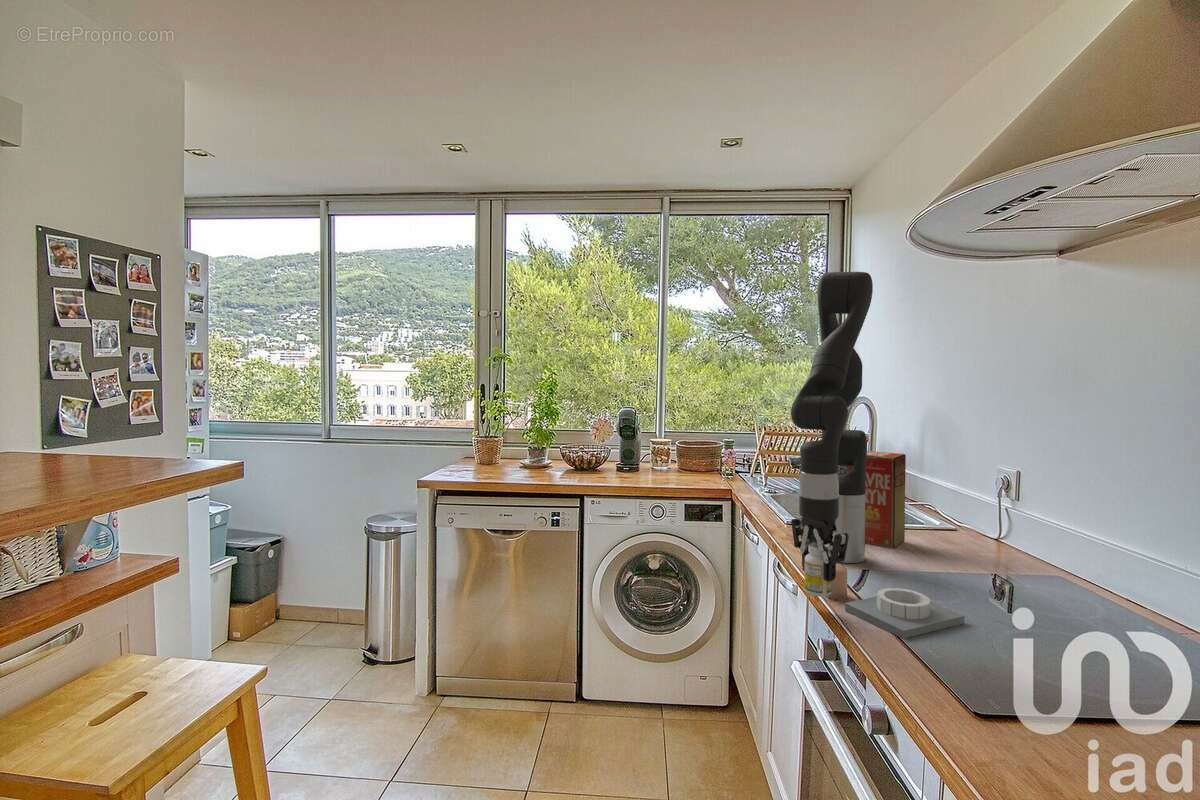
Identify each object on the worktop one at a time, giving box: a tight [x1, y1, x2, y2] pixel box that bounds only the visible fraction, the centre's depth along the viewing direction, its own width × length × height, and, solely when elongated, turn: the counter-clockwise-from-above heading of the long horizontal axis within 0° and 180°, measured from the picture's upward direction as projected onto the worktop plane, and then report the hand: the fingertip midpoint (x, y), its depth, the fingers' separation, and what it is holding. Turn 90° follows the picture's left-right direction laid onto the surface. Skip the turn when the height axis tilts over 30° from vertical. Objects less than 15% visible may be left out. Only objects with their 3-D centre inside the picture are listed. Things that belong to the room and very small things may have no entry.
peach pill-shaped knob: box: [824, 564, 848, 601], centre depth 129 cm, size 5×5×6 cm
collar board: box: [844, 587, 965, 639], centre depth 118 cm, size 14×16×4 cm
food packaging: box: [846, 450, 907, 549], centre depth 168 cm, size 13×9×25 cm
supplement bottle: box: [803, 543, 832, 598], centre depth 121 cm, size 5×5×10 cm
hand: (818, 575), depth 121 cm, fingers closed on supplement bottle, 5 cm apart
